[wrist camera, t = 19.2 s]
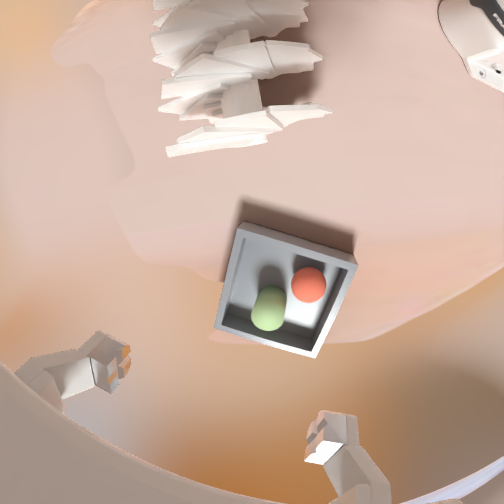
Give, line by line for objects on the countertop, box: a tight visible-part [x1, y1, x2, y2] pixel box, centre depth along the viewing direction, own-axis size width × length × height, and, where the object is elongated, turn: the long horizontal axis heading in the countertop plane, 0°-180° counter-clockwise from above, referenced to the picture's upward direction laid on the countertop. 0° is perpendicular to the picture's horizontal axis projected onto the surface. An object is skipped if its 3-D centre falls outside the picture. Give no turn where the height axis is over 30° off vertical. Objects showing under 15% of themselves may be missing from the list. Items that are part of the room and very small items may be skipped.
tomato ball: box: [291, 267, 326, 303], centre depth 37 cm, size 5×5×5 cm
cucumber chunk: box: [251, 286, 287, 331], centre depth 39 cm, size 4×4×5 cm
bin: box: [214, 221, 358, 358], centre depth 40 cm, size 16×16×4 cm
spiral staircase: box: [150, 0, 333, 157], centre depth 24 cm, size 18×18×25 cm
